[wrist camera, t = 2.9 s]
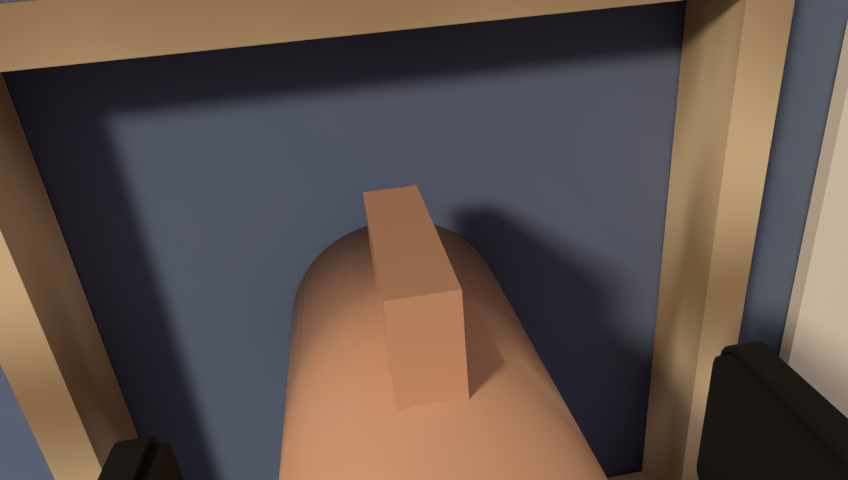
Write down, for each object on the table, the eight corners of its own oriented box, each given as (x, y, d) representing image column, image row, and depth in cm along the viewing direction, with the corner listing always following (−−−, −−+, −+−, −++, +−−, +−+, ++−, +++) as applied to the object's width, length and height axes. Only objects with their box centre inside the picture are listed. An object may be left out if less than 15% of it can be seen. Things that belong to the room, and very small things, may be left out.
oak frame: (669, 488, 19) (704, 541, 18) (157, 587, 18) (139, 658, 16) (737, -66, 13) (806, -72, 11) (-83, 10, 11) (-163, 19, 9)
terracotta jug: (501, 380, 17) (639, 700, 9) (311, 413, 16) (303, 778, 9) (492, 136, 14) (684, 328, 6) (260, 166, 13) (183, 410, 6)
